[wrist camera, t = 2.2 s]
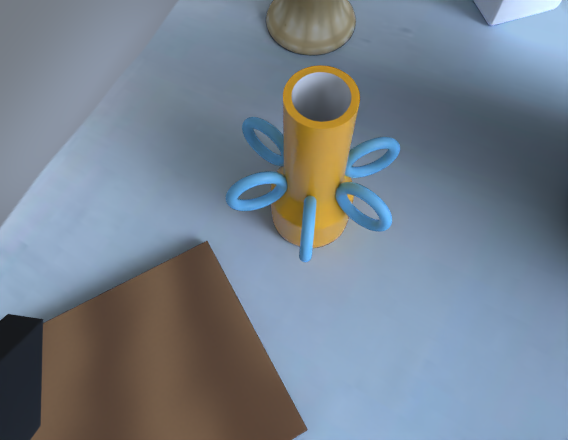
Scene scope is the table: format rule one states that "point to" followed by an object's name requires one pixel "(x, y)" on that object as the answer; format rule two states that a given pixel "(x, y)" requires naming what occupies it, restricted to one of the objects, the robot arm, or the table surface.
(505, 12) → the medicine bottle
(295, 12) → the hand bell
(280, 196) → the cylinder
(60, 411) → the plate
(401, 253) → the table surface
